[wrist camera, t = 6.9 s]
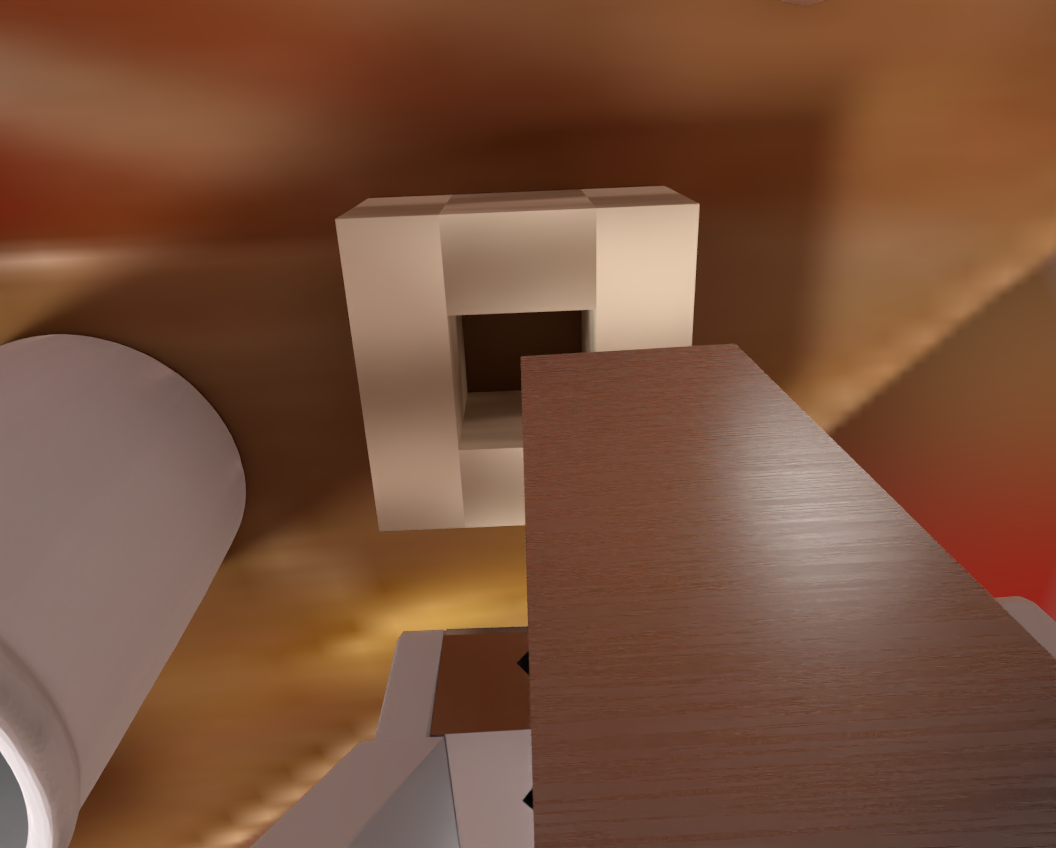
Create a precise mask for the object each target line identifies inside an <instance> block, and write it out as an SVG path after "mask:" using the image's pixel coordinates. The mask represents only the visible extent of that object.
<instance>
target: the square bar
mask: <svg viewBox="0 0 1056 848" xmlns="http://www.w3.org/2000/svg"><path fill="white" fill-rule="evenodd" d="M521 389H522V424H523V460H524V496H525V531H526V567H527V602H528V638H529V673H530V709H531V744H532V780H533V815H534V848H1056V659H1055V658H1054V657H1053V656H1052V655H1051V654H1050V653H1049V652H1048V651H1047V650H1046V649H1045V648H1044V647H1043V646H1042V645H1041V644H1040V643H1039V642H1038V641H1037V640H1036V639H1035V638H1034V637H1033V636H1032V635H1031V634H1030V633H1029V632H1028V631H1027V630H1026V629H1025V628H1024V627H1022V626H1021V625H1020V624H1019V623H1018V622H1017V621H1016V620H1015V619H1014V618H1013V617H1012V616H1011V615H1010V614H1009V613H1008V612H1007V611H1006V610H1005V609H1004V608H1003V607H1002V606H1001V605H1000V604H999V603H998V602H997V601H996V600H995V599H994V598H993V597H992V596H991V595H990V594H989V593H988V592H987V591H986V590H985V589H984V588H983V587H982V586H981V585H980V584H979V583H978V582H977V581H976V580H975V579H974V578H973V577H972V576H971V575H970V574H969V573H968V572H967V571H966V570H965V569H964V568H963V567H962V566H961V565H959V563H958V562H956V560H954V559H953V558H952V557H951V556H950V555H949V554H948V553H947V552H946V551H945V550H944V549H943V548H942V547H941V546H940V545H939V544H938V543H937V542H936V541H935V540H934V539H933V538H932V537H931V536H930V535H929V534H928V533H927V532H926V531H925V530H924V529H923V528H922V527H921V526H920V525H919V524H918V523H917V522H916V521H915V520H914V519H913V518H912V517H911V516H910V515H909V514H908V513H907V512H906V511H905V510H904V509H903V508H902V507H901V506H900V505H899V504H897V502H896V501H895V500H893V498H891V496H890V495H888V494H887V493H886V492H885V491H884V490H883V489H882V488H881V487H880V486H879V485H878V484H877V483H876V482H875V481H874V480H873V479H872V478H871V477H870V476H869V475H868V474H867V473H866V472H865V471H864V470H863V469H862V468H861V467H860V466H859V465H858V464H857V463H856V462H855V461H854V460H853V459H852V458H851V457H850V456H849V455H848V454H847V453H846V452H845V451H844V450H843V449H842V448H841V447H840V446H839V445H838V444H837V443H836V442H835V441H834V440H833V439H832V438H831V437H830V436H829V435H828V434H827V433H826V432H825V431H824V430H823V429H822V428H820V427H819V426H818V425H817V424H816V423H815V422H814V421H813V420H812V419H811V418H810V417H809V416H808V415H807V414H806V413H805V412H804V411H803V410H802V409H801V408H800V407H799V406H798V405H797V404H796V403H795V402H794V401H793V400H792V399H791V398H790V397H789V396H788V395H787V394H786V393H785V392H784V391H783V390H782V389H781V388H780V387H779V386H778V385H777V384H776V383H775V382H774V381H773V380H772V379H771V378H770V377H769V376H768V375H767V374H766V373H765V372H764V371H763V370H762V369H761V368H760V367H759V366H758V365H757V364H756V363H755V362H753V361H752V360H751V359H750V358H749V357H748V356H747V355H746V354H745V353H744V352H743V351H742V350H741V349H740V348H739V347H738V346H737V345H736V344H719V345H702V346H686V347H669V348H652V349H636V350H619V351H602V352H586V353H569V354H552V355H536V356H521Z"/></svg>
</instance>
